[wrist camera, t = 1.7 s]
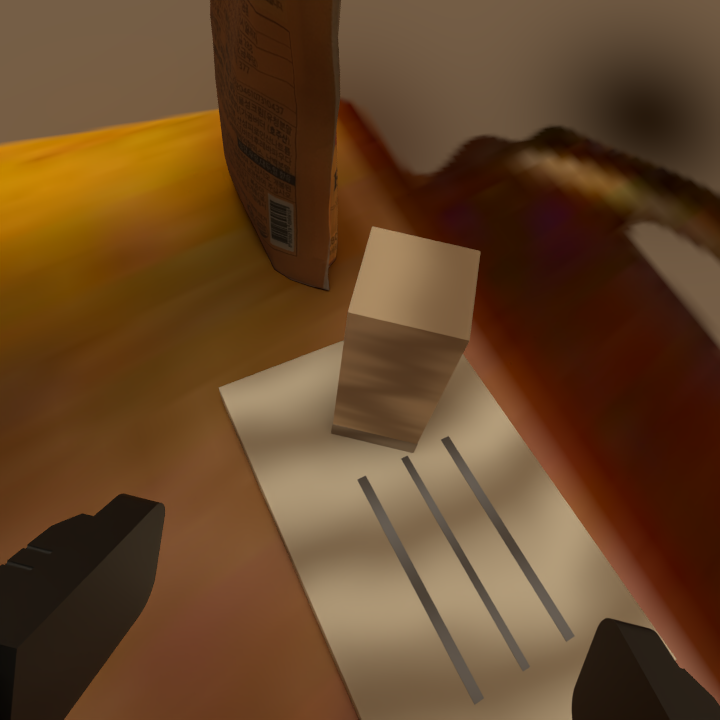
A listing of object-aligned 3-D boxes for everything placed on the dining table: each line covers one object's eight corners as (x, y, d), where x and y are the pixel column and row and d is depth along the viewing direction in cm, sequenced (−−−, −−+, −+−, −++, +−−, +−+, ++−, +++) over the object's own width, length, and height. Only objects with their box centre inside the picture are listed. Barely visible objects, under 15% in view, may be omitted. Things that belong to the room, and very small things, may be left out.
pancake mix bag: (271, 326, 33) (203, -552, 10) (191, 141, 42) (48, -573, 18) (366, 298, 35) (508, -491, 11) (272, 127, 44) (240, -534, 20)
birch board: (222, 400, 30) (218, 387, 29) (425, 321, 35) (430, 307, 33) (413, 845, 21) (420, 856, 20) (657, 660, 25) (677, 659, 24)
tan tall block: (330, 433, 28) (347, 312, 19) (349, 363, 31) (371, 225, 21) (413, 453, 28) (470, 341, 19) (425, 381, 31) (481, 250, 21)
